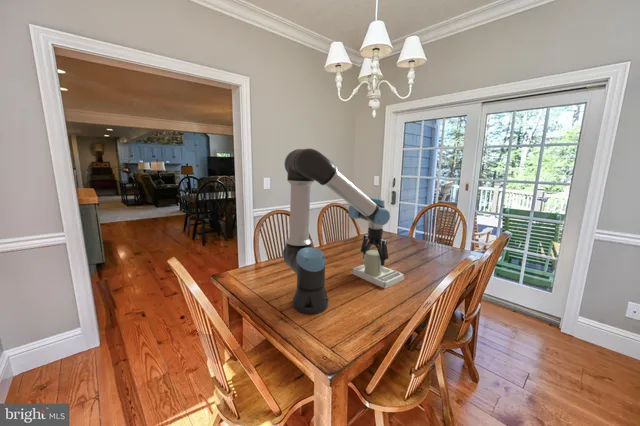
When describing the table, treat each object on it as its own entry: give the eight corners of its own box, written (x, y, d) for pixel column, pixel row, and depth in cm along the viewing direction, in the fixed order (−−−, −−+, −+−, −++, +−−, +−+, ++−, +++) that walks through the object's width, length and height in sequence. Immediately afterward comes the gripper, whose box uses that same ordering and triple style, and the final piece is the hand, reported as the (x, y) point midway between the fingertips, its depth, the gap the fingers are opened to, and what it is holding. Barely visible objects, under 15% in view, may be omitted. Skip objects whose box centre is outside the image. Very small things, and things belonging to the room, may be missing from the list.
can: (381, 277, 136) (383, 255, 134) (363, 275, 138) (365, 254, 136) (381, 270, 145) (383, 250, 143) (364, 268, 147) (365, 248, 144)
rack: (385, 288, 126) (385, 281, 125) (351, 273, 143) (352, 266, 142) (403, 279, 136) (404, 272, 136) (370, 266, 153) (371, 260, 152)
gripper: (397, 230, 131) (394, 272, 135) (364, 222, 147) (362, 260, 152) (388, 233, 126) (385, 276, 130) (355, 224, 143) (353, 263, 147)
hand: (373, 267), depth 141 cm, fingers open, 9 cm apart
